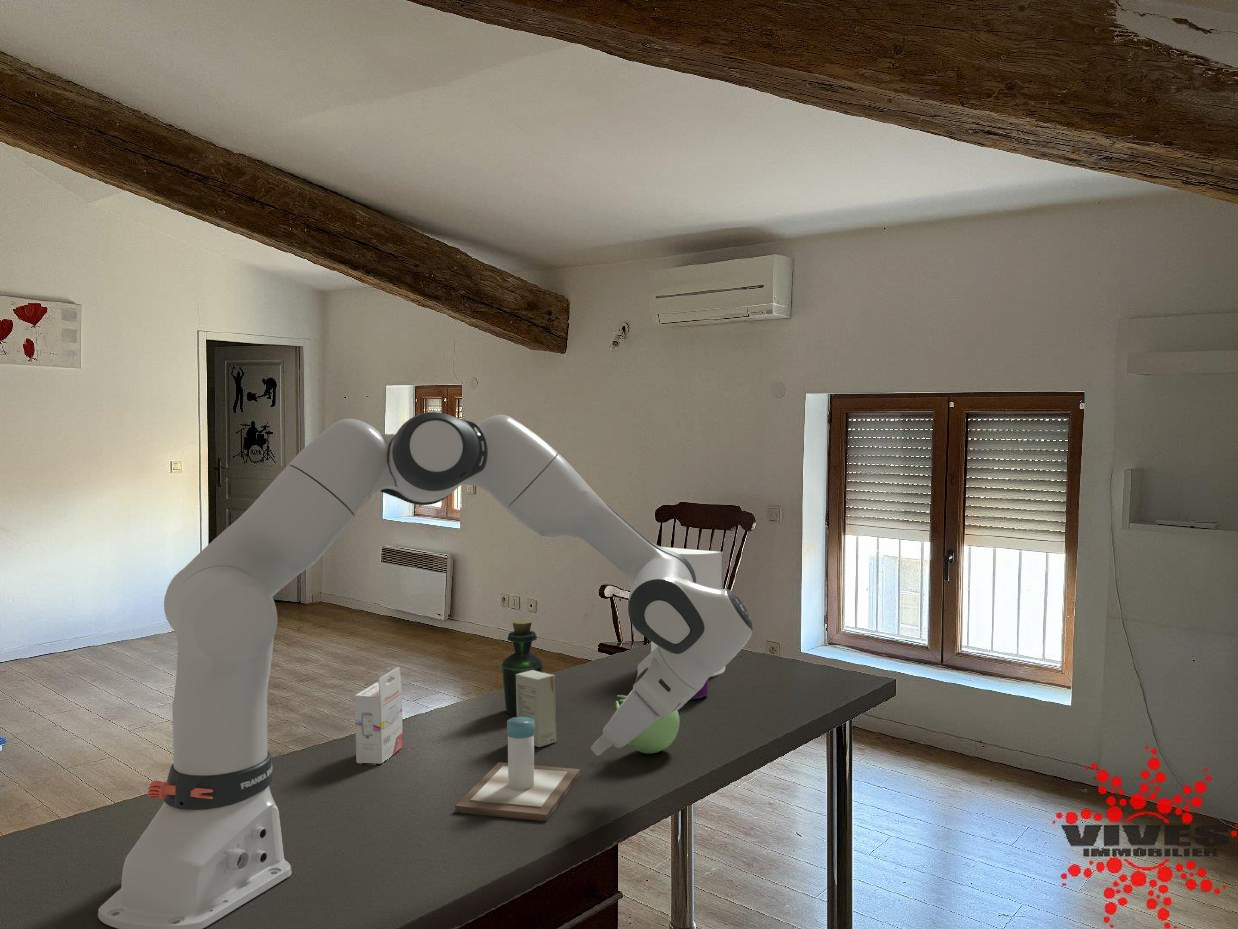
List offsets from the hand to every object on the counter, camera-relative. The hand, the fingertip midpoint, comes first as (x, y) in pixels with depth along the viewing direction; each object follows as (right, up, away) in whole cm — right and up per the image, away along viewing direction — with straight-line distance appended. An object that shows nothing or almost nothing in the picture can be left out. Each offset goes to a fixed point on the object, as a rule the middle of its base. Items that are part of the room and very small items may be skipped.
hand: (602, 740), depth 140 cm
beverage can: (+18, -7, +55) cm, 58 cm away
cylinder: (+19, -6, +77) cm, 79 cm away
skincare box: (-12, -8, +27) cm, 30 cm away
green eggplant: (+7, -9, +20) cm, 23 cm away
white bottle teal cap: (-13, -8, +3) cm, 15 cm away
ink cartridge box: (-39, -9, +19) cm, 44 cm away
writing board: (-13, -9, +3) cm, 16 cm away
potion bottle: (-17, -8, +44) cm, 48 cm away
